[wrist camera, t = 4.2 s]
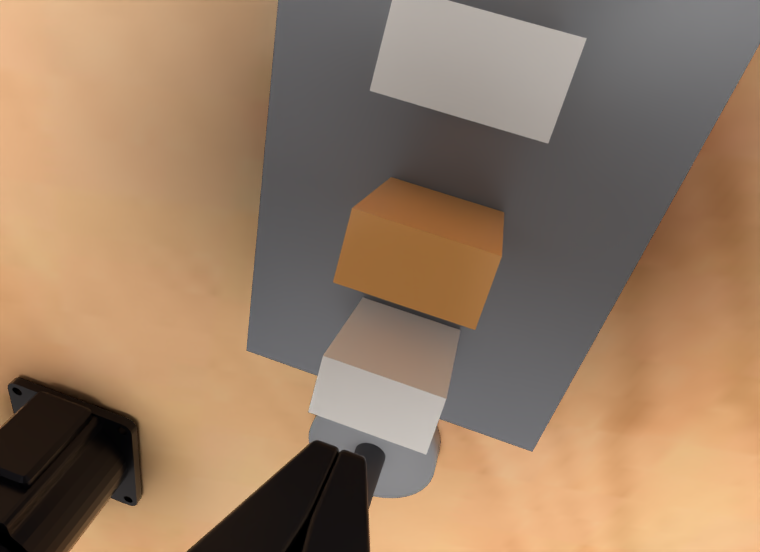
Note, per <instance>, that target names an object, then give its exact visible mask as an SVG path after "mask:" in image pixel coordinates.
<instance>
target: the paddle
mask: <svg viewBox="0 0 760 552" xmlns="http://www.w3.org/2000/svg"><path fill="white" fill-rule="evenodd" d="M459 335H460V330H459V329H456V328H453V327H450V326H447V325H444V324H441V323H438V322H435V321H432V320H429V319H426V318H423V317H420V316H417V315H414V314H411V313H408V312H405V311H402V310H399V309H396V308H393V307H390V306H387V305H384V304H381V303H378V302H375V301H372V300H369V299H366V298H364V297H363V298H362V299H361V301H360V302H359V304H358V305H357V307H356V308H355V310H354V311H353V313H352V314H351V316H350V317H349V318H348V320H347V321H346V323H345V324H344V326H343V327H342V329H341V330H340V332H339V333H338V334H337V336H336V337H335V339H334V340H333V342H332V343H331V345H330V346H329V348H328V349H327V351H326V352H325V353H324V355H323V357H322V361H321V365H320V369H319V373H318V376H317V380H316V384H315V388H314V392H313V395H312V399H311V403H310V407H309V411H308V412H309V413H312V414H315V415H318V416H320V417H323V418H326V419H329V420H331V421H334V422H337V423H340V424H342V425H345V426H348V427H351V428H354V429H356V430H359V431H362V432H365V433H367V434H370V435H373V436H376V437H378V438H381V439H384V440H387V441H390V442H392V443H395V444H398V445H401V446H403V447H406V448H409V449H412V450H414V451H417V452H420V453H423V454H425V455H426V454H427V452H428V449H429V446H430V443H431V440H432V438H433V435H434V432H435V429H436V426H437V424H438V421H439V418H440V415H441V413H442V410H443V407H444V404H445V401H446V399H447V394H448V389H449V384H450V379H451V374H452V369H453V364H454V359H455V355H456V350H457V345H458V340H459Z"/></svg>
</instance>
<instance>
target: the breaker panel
mask: <svg viewBox="0 0 760 552" xmlns="http://www.w3.org/2000/svg"><path fill="white" fill-rule="evenodd" d="M449 1H453V2H456V3H460V4H464V5H467V6H471V7H474V8H478V9H482V10H485V11H489V12H493V13H496V14H500V15H504V16H507V17H511V18H514V19H518V20H522V21H525V22H529V23H533V24H536V25H540V26H544V27H547V28H551V29H554V30H558V31H562V32H565V33H569V34H573V35H576V36H580V37H584V38H587V39H586V42H585V45H584V47H583V50H582V53H581V56H580V58H579V61H578V64H577V67H576V69H575V72H574V75H573V77H572V80H571V83H570V86H569V88H568V91H567V94H566V97H565V99H564V102H563V105H562V108H561V110H560V113H559V116H558V118H557V121H556V124H555V127H554V129H553V132H552V135H551V138H550V140H549V143H544V142H541V141H538V140H534V139H531V138H527V137H524V136H521V135H517V134H514V133H511V132H507V131H504V130H500V129H497V128H494V127H490V126H487V125H484V124H480V123H477V122H473V121H470V120H467V119H463V118H460V117H457V116H453V115H450V114H446V113H443V112H440V111H436V110H433V109H430V108H426V107H423V106H419V105H416V104H413V103H409V102H406V101H403V100H399V99H396V98H392V97H389V96H386V95H382V94H379V93H376V92H372V91H370V87H371V83H372V79H373V75H374V71H375V67H376V63H377V59H378V55H379V51H380V47H381V43H382V39H383V35H384V31H385V27H386V23H387V19H388V15H389V11H390V7H391V3H392V0H278V9H277V20H276V31H275V42H274V53H273V64H272V75H271V86H270V97H269V108H268V119H267V130H266V141H265V152H264V163H263V174H262V185H261V196H260V207H259V218H258V229H257V240H256V251H255V262H254V273H253V284H252V295H251V306H250V317H249V328H248V339H247V350H246V351H249V352H252V353H255V354H258V355H261V356H263V357H266V358H269V359H272V360H275V361H277V362H280V363H283V364H286V365H289V366H292V367H294V368H297V369H300V370H303V371H306V372H309V373H311V374H314V375H317V376H318V373H319V369H320V365H321V361H322V357H323V355H324V353H325V352H326V351H327V349H328V348H329V346H330V345H331V343H332V342H333V340H334V339H335V337H336V336H337V334H338V333H339V332H340V330H341V329H342V327H343V326H344V324H345V323H346V321H347V320H348V318H349V317H350V316H351V314H352V313H353V311H354V310H355V308H356V307H357V305H358V304H359V302H360V301H361V299H362V298H363V297H364V298H366V299H369V300H372V301H375V302H378V303H381V304H384V305H387V306H390V307H393V308H396V309H399V310H402V311H405V312H408V313H411V314H414V315H417V316H420V317H423V318H426V319H429V320H432V321H435V322H438V323H441V324H444V325H447V326H450V327H453V328H456V329H459V330H460V335H459V340H458V345H457V350H456V355H455V359H454V364H453V369H452V374H451V379H450V384H449V389H448V394H447V399H446V401H445V404H444V407H443V410H442V413H441V415H440V418H439V419H441V420H444V421H447V422H450V423H453V424H456V425H458V426H461V427H464V428H467V429H470V430H472V431H475V432H478V433H481V434H484V435H487V436H489V437H492V438H495V439H498V440H501V441H504V442H506V443H509V444H512V445H515V446H518V447H521V448H523V449H526V450H529V451H533V449H534V448H535V446H536V444H537V442H538V440H539V439H540V437H541V435H542V433H543V431H544V430H545V428H546V426H547V424H548V423H549V421H550V419H551V417H552V415H553V414H554V412H555V410H556V408H557V406H558V405H559V403H560V401H561V399H562V397H563V396H564V394H565V392H566V390H567V388H568V387H569V385H570V383H571V381H572V379H573V378H574V376H575V374H576V372H577V371H578V369H579V367H580V365H581V363H582V362H583V360H584V358H585V356H586V354H587V353H588V351H589V349H590V347H591V345H592V344H593V342H594V340H595V338H596V336H597V335H598V333H599V331H600V329H601V328H602V326H603V324H604V322H605V320H606V319H607V317H608V315H609V313H610V311H611V310H612V308H613V306H614V304H615V302H616V301H617V299H618V297H619V295H620V293H621V292H622V290H623V288H624V286H625V284H626V283H627V281H628V279H629V277H630V276H631V274H632V272H633V270H634V268H635V267H636V265H637V263H638V261H639V259H640V258H641V256H642V254H643V252H644V250H645V249H646V247H647V245H648V243H649V241H650V240H651V238H652V236H653V234H654V232H655V231H656V229H657V227H658V225H659V224H660V222H661V220H662V218H663V216H664V215H665V213H666V211H667V209H668V207H669V206H670V204H671V202H672V200H673V198H674V197H675V195H676V193H677V191H678V189H679V188H680V186H681V184H682V182H683V180H684V179H685V177H686V175H687V173H688V172H689V170H690V168H691V166H692V164H693V163H694V161H695V159H696V157H697V155H698V154H699V152H700V150H701V148H702V146H703V145H704V143H705V141H706V139H707V137H708V136H709V134H710V132H711V130H712V128H713V127H714V125H715V123H716V121H717V120H718V118H719V116H720V114H721V112H722V111H723V109H724V107H725V105H726V103H727V102H728V100H729V98H730V96H731V94H732V93H733V91H734V89H735V87H736V85H737V84H738V82H739V80H740V78H741V77H742V75H743V73H744V71H745V69H746V68H747V66H748V64H749V62H750V60H751V59H752V57H753V55H754V53H755V51H756V50H757V48H758V46H759V44H760V0H449ZM390 177H393V178H396V179H399V180H402V181H405V182H409V183H412V184H415V185H418V186H421V187H425V188H428V189H431V190H434V191H437V192H441V193H444V194H447V195H450V196H454V197H457V198H460V199H463V200H466V201H470V202H473V203H476V204H479V205H482V206H486V207H489V208H492V209H495V210H499V211H502V212H504V228H503V247H502V258H501V260H500V263H499V266H498V269H497V271H496V274H495V277H494V280H493V282H492V285H491V288H490V291H489V293H488V296H487V299H486V302H485V304H484V307H483V310H482V313H481V315H480V318H479V321H478V324H477V327H476V329H475V330H473V329H470V328H467V327H464V326H461V325H458V324H455V323H453V322H450V321H447V320H444V319H441V318H438V317H435V316H432V315H429V314H426V313H423V312H420V311H417V310H414V309H411V308H408V307H405V306H402V305H399V304H396V303H393V302H390V301H387V300H384V299H381V298H378V297H375V296H372V295H369V294H366V293H363V292H360V291H357V290H354V289H351V288H348V287H345V286H342V285H339V284H336V283H333V280H334V276H335V272H336V268H337V265H338V261H339V257H340V253H341V249H342V245H343V241H344V237H345V233H346V229H347V226H348V222H349V218H350V214H351V210H352V208H353V207H354V206H355V205H357V204H358V203H359V202H360V201H362V200H363V199H364V198H365V197H367V196H368V195H369V194H370V193H372V192H373V191H374V190H375V189H377V188H378V187H379V186H380V185H382V184H383V183H384V182H385V181H387V180H388V179H389V178H390Z"/></svg>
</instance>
